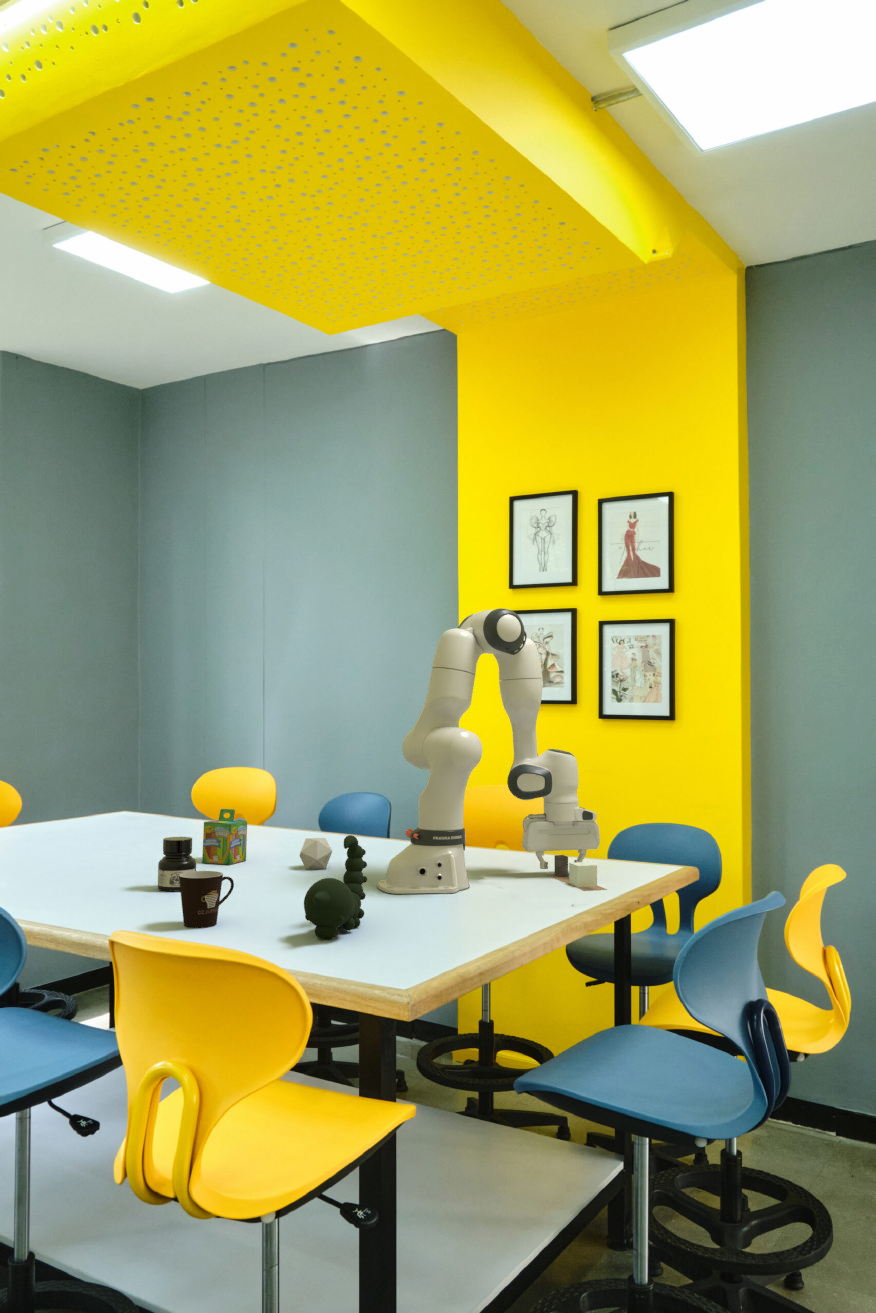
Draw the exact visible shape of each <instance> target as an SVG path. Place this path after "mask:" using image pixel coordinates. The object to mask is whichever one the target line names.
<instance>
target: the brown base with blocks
mask: <svg viewBox="0 0 876 1313" xmlns="http://www.w3.org/2000/svg"><path fill="white" fill-rule="evenodd" d="M547 876H548V877H550V878H552V879H555V880H557V881H559V882H561V883H564V884H566V885H568V886H572V887H574V888H575V889H578V890H581V891H583V892H591V891H592V892H593V891H606V890H607V891H608V888H604V887H602V886H600V885H597V886H593V887H576V886H574V885H571V884H569V856H567V855H564V854H559V855H556V854H555V855H554V874H548V875H547Z"/></svg>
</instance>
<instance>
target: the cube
mask: <svg viewBox="0 0 876 1313" xmlns="http://www.w3.org/2000/svg"><path fill="white" fill-rule="evenodd" d="M568 874H569V884H571V885H574V886H576V887H593V886H598V864H595V863H592V862H589V861H582V862H577V863H574V862H568ZM569 884H568V885H569ZM571 885H570V886H571ZM574 886H573V887H574ZM576 887H575V888H576Z"/></svg>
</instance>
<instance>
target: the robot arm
mask: <svg viewBox="0 0 876 1313" xmlns="http://www.w3.org/2000/svg"><path fill="white" fill-rule="evenodd" d="M435 649H436V650H435V653H434V657H433V661H432V666H431V670H430V671H431V672H430V675H429V676H430V678H429V683H428V688H427V694H426V698H425V700H424V701H425V702H424V704H423V707H422V710H421V712H420V714H419V716H418V718H417V720H416V722H415V724H414V726H413V727H412V728H411V729H410V730H409V731H408V732H407V734H406V735H405V736H404V738H403V740H402V743H401V744H402V745H401V750H402V751H401V752H402V755H403V757H404V759H405V760H406V761H407V762H408V763H409V765H412V766H414V767H416V768H418V769H420V770H424V771H430V772H429V776H428V780H427V783H426V786H425V788H424V789H423V790H422V791H421V792H420V794H419V796H418V822H417V823H418V827H417V828H415V829H411V828H407V829H406V830H405V832H404V835H405V836H406V837H407V838H409V839H410V840H409V841H410V844H409V845H407V846H406V847H405V848H404V849H403V850H401V851H400V852H398V854H396V855H395V856H394V857H392V859H390V861H389V863H388V867H387V870H386V877H385V878H386V879H381V880H378V881H377V888H378V890H380V891H382V892H385V893H389V894H395V895H396V894H397V895H398V894H399V895H400V894H401V895H402V894H405V895H406V894H452V893H453V894H454V893H457V892H459V891H461V890H466V889H467V888H469V887H470V886H471V885H470V882H469V877H468V873H467V867H466V858H465V851H466V850H465V849H466V829H465V827H464V806H465V805H464V804H465V803H464V802H465V796H466V795H465V794H466V793H465V792H466V789H467V785H468V782H469V779H470V775H471V774H472V772H473V770H474V769H475V768H476V767H477V766H478V765H479V764H480V761H481V759H482V755H483V744H482V742H481V739H480V738H479V736H478V735H477V734H475V733H474V732H473V731H470V730H467V729H464V728H462V727H459V726H458V724H459V721H460V719H461V718H462V716H463V715H464V714H465V713H466V711H468V710H469V709H470V706H471V704H472V700H473V693H474V686H475V679H476V674H477V673H476V672H477V664H478V661H479V659H480V656H481V655H483V654H489V655H493V656H494V658H495V660H496V663H497V665H498V683H499V684H498V685H499V692H500V697H501V702H502V706H503V708H504V711H505V713H506V715H507V716H508V719H509V722H510V724H511V729H512V731H511V732H512V743H513V744H512V745H513V746H512V747H513V760H512V765H511V767H510V769H509V772H508V776H507V781H506V782H507V783H506V784H507V787H508V790H509V792H510V793H511V794H512V795H513V796H514V797H515V798H517V799H519V800H522V801H531V800H534V799H539V798H542V799H543V813H537V814H533V813H531V814H528V815H527V816H525V817H524V818H523V820H522V828H523V833H522V834H523V835H522V842H521V847H522V848H523V849H524V850H525V851H526V852H534V853H535V856H536V857H537V859H538V861H539V869H540V870H548V869H549V862H548V861H546V860H545V859H544V858H543V856H545V852H553V851H554V852H557V851H558V852H559V851H577V853H579V854H578V857H577V859H574V860H573V863H577V862H584V861H583V860H585V857H586V855H587V850H597V849H598V848H599V846H600V845H601V838H600V834H601V833H600V827H599V825H598V823H597V818H598V816H597V815H598V814H597V812H595V811H592V810H590V809H587V808H584V807H581V806H579V797H578V788H579V769H578V760H577V758H576V757H575V755H574V754H573V753H571V752H569V751H566V750H562V749H558V748H557V749H554V748H548V749H546V751H544V752H543V753H541V754H540V755H538V743H537V742H538V741H537V720H538V716H539V711H540V708H541V705H542V704H541V703H542V695H543V679H542V678H543V675H542V673H543V672H542V664H541V661H540V660H541V659H540V655H539V652H538V648H537V644H536V642H534V640H532V639H530V638H529V637H528V636H527V632H526V631H525V626H524V623H523V621H522V618H521V617H520V616H519V615H518V613H517V612H515V611H513V610H511V609H508V608H502V607H501V608H496V609H485V610H481V611H478V612H476V613H473V614H470V615H468V616H467V617H465V618H464V619H463V620H462V621H461V622H460V624H459V625H458V627H456V628H449V629H447V630H446V631H444V632H443V633H442V634H441V636H440V637H439V641H438V643H437V646H436V648H435Z"/></svg>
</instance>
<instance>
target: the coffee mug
mask: <svg viewBox="0 0 876 1313" xmlns="http://www.w3.org/2000/svg"><path fill="white" fill-rule="evenodd" d="M223 875H224V873H223V872H221V871H217V870H196V871H193V872H186V873H182V874H180V875H179V881H180V891H179V892H180V899H181V908H182V910H181V911H182V918H183V919H182V920H183V926H184V927H185V928H186V929H205V928H207V929H208V928H211V927H215V926H217V923H218V918H219V917H218V915H219V908H220V906H221V905H222V903H224V901H226V900H227V899H228V898H229V896H230V895H231V893H233V892H232V891H233V889H234V887H235V882H234V880H233V878H232V877H229V876H223ZM225 880H228V881H229V882H230V888H229V890H228V892H227V893H226V894H225V895H224V897H223V898H221V891H222V884H223V881H225Z"/></svg>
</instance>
